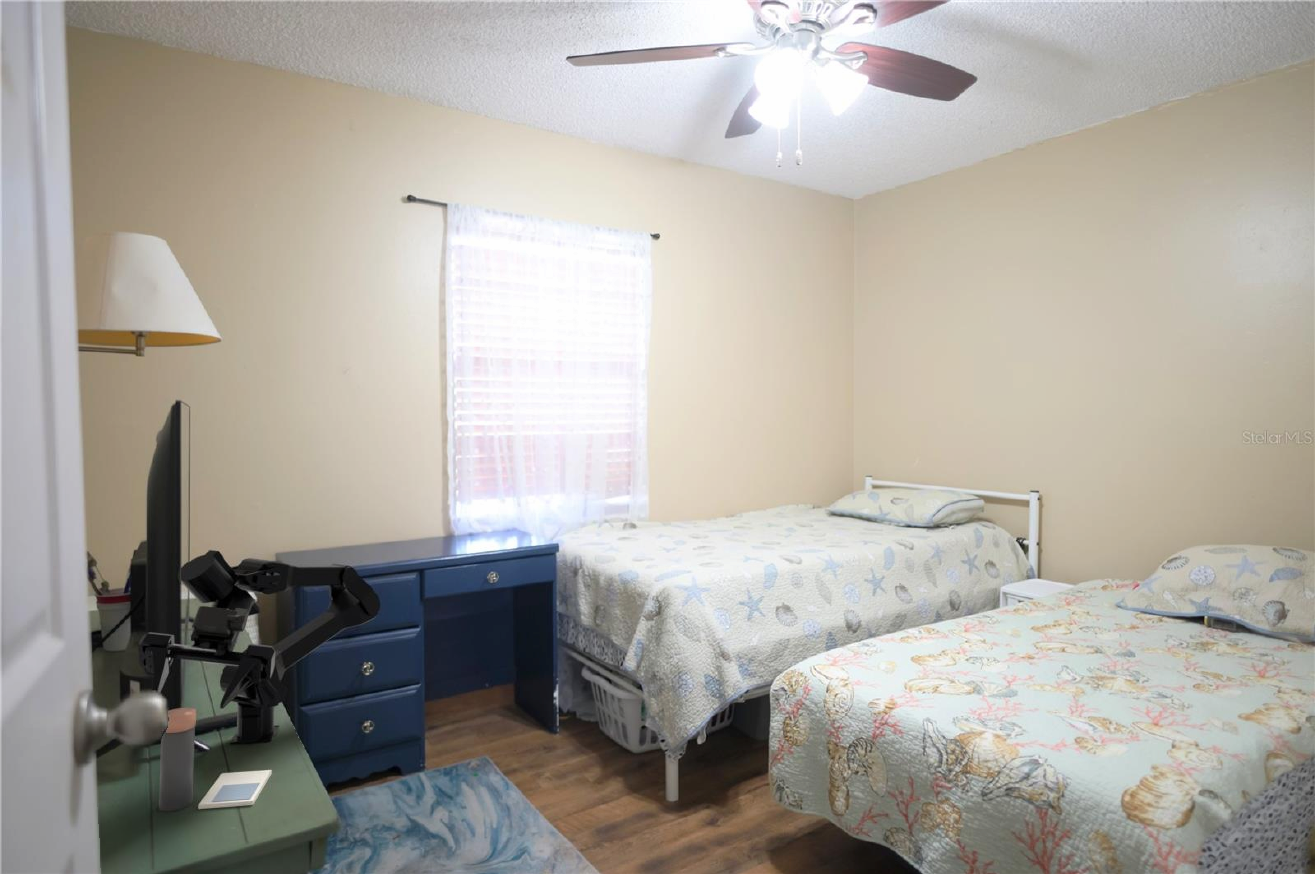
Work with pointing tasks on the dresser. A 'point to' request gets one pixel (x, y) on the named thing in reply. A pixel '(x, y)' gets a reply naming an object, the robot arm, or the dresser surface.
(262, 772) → the notepad
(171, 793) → the bottle
